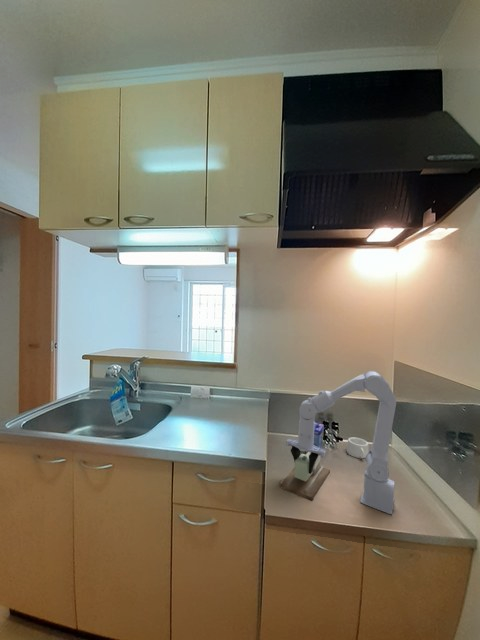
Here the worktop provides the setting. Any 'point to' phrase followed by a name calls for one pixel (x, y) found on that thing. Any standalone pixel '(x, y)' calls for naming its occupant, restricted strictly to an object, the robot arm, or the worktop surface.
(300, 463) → the module
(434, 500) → the worktop surface
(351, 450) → the mug
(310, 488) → the rail board
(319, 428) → the ink cartridge box
